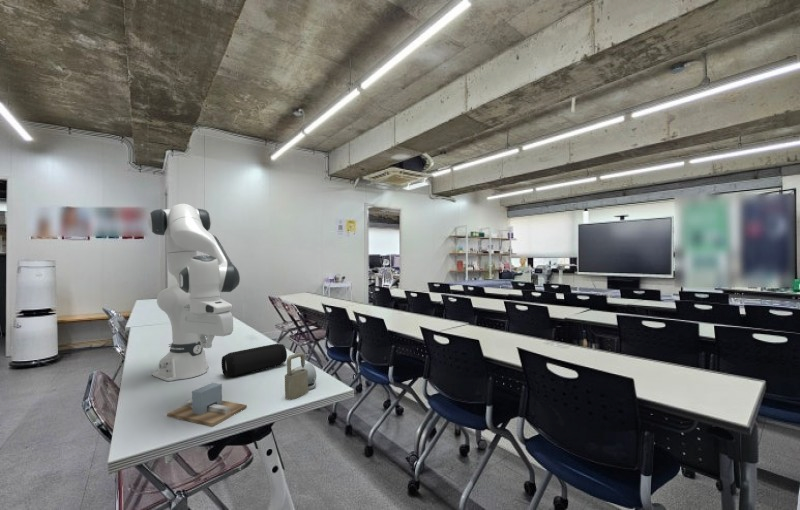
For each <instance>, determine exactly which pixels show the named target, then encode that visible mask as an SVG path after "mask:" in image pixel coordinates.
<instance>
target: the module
mask: <svg viewBox="0 0 800 510" xmlns="http://www.w3.org/2000/svg"><path fill="white" fill-rule="evenodd" d="M222 386H223V385H222V383H217V382H210V383H209V384H206V385H203V386H201V387H199V388H197V389H195V390H192V391H191V394H192V395H191V396H192V397H191V398H192V399H191V400H192V406H193V413H195V414H199V415H203V414H205V413H207V406H208V405H210V404H217V405H222V401H223V387H222Z"/></svg>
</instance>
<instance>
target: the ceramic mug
mask: <svg viewBox="0 0 800 510" xmlns="http://www.w3.org/2000/svg"><path fill="white" fill-rule="evenodd" d="M300 369H306V370H308V385H310V384H313V385H311V386H308V391H311V390H313V389H315V387H316V384H317V371H316V367H315V366H314V364H313V363H311V362H307V363H305V365H304V368H302V365H301V366H298V367H294V368H293V369H291V372H293V371H296V370H300ZM310 389H311V390H310Z"/></svg>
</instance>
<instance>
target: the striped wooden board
mask: <svg viewBox="0 0 800 510" xmlns="http://www.w3.org/2000/svg"><path fill="white" fill-rule="evenodd" d="M184 404H185V405H183V406H180V407H178V408H175V409H173V410H170V411H168V412H167V413H166V416H167V417H168V418H173V419H178V420H181V421H186V422H189V423H190V422H191V423H195V424H200V425H202V426H208V427H212V428H213V427H214V426H217V425H218V424H220V423H222V422H224V421H226V420H228V419H229V418H231V417H233V416H235V415H237V414H239V413H241V412H242V411H244V410H246V409H247V408H248V407H247V404H243V403H239V402H238V403H237V402H232V401H226V400H222V405H217V404H210V405H208V406H207V413H205V414H203V415H199V414H195V413H193V406H192V399H189V400H187V401H185V403H184ZM246 407H247V408H246ZM245 408H246V409H245ZM243 409H244V410H243ZM241 410H242V411H241ZM238 412H239V413H238ZM236 413H237V414H236ZM234 414H235V415H234Z"/></svg>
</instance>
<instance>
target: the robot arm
mask: <svg viewBox="0 0 800 510" xmlns="http://www.w3.org/2000/svg"><path fill="white" fill-rule="evenodd" d="M147 224H148V227H149V229H150V230H151V232H152V233H153V234H154V235H156V236H166V242H165V243H166V245H165V246H166V249H165V250H166V259H167V267H168V269H167V270H168V272H169V273H170V275H171V276H173V277H174V278H175V279H176V281H177V283H178V284H177V285H171V286H169V287H167V288H164V289H162V290H161V291H160V292H158V294H157V297H156V304H157V306H158V308H159V309H160V310H161V311H163V312H164V313H165V314H166V315H167V317H168V319H169V322H170V325H171V333H172V335H171V336H172V342H171V343H169V344H168V345H169V346H168V348H169V347H170V348H169V352H168V353H166V355H164V356H163V357H162V358H160V360H159V363H158V370H155V371H153V372H152V373H151V374H152V375H153V377H156V378H158V379H161V380H163V381H165V382H171V381H177V380H184V379H185V380H186V379H191V378H195V377H198V376H201V375H203V374H205V373H207V372H208V368H209V364H207V363H208V362H207V356H206V351H205V349H210V348H212V346H213V344H212V343H213V340H214V339H215V337H226V336H230V335H232V334H233V331H234V317H233V314H232V312H231V311H232V310H233V305H232V303H230V302H228V301H226V300H224V299H223V298H221V293H231V292H233V291H234V290H235V289H236V288H238V286H239V284H240V282H241V281H240V280H241V279H240V273H239V269H238V268H237V267H236V266H235V265H234V264H233V262H232V261H231V259H230V258H229V256H228V255H227V252H226V250H225V249H224V247H223V245H222V243H221V242H220V239H218V237H217V236H216V235H214V234H212V233H210V231H209V230H210V229H211V226H212V218H211V216H210V213H209V212H208V210H206V209H203V208H197V209H196V208H195V207H194V206H192V205H190V204H187V203H178V204H175V205H173V206H172V207H171V208H168V209H167V208H166V209H162V208H158V209H154V210H152V211H151V212H150V213H149V216H148V218H147ZM197 252H199V253H203V254H206V255H197V254H198V253H197ZM152 375H151V376H152Z"/></svg>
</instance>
